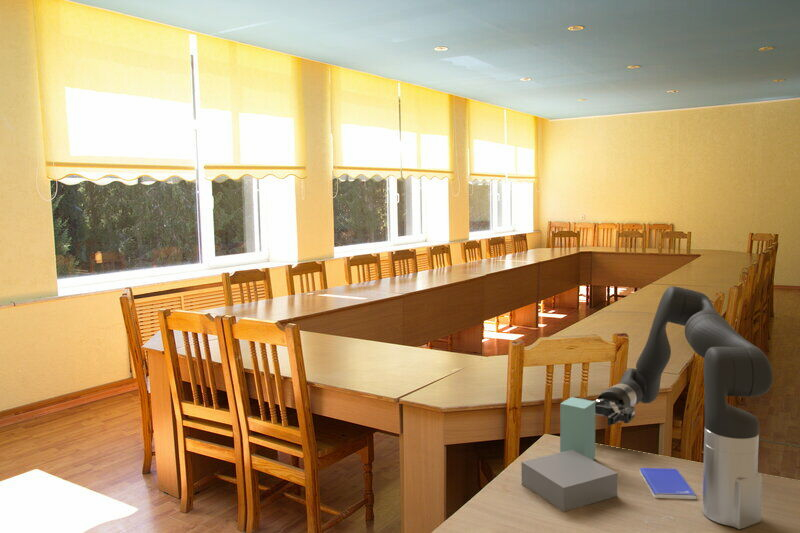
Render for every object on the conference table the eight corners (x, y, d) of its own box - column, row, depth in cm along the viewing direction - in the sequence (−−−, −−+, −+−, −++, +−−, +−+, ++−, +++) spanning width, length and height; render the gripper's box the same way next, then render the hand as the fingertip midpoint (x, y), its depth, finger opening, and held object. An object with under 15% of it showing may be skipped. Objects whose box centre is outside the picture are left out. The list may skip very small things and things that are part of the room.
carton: (595, 458, 150) (595, 401, 149) (584, 467, 146) (584, 408, 144) (571, 452, 154) (571, 397, 153) (560, 460, 150) (560, 403, 148)
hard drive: (696, 494, 129) (677, 468, 142) (654, 492, 130) (639, 467, 143) (696, 501, 130) (677, 475, 142) (654, 500, 131) (639, 474, 143)
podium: (617, 496, 132) (617, 473, 131) (563, 511, 126) (563, 487, 125) (572, 470, 144) (572, 449, 144) (521, 483, 138) (521, 461, 138)
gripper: (591, 382, 171) (564, 397, 159) (644, 391, 162) (620, 408, 150) (591, 409, 172) (564, 426, 160) (644, 419, 163) (620, 439, 151)
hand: (592, 417), depth 155 cm, fingers open, 8 cm apart
